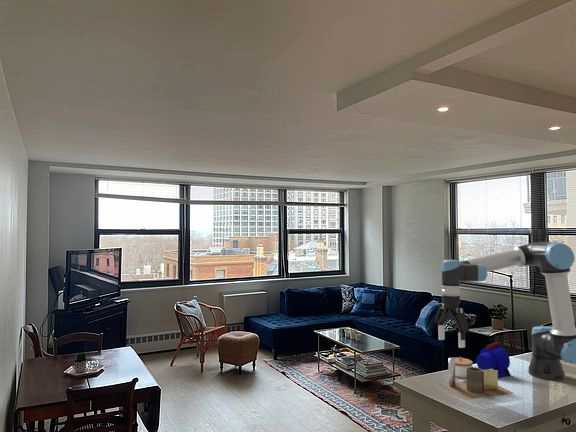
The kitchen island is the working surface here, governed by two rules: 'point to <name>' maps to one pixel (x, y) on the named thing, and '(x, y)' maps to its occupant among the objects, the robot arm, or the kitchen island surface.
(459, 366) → the lidded jar
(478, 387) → the jig
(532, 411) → the kitchen island surface
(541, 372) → the robot arm
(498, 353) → the alarm clock
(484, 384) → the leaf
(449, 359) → the pin
